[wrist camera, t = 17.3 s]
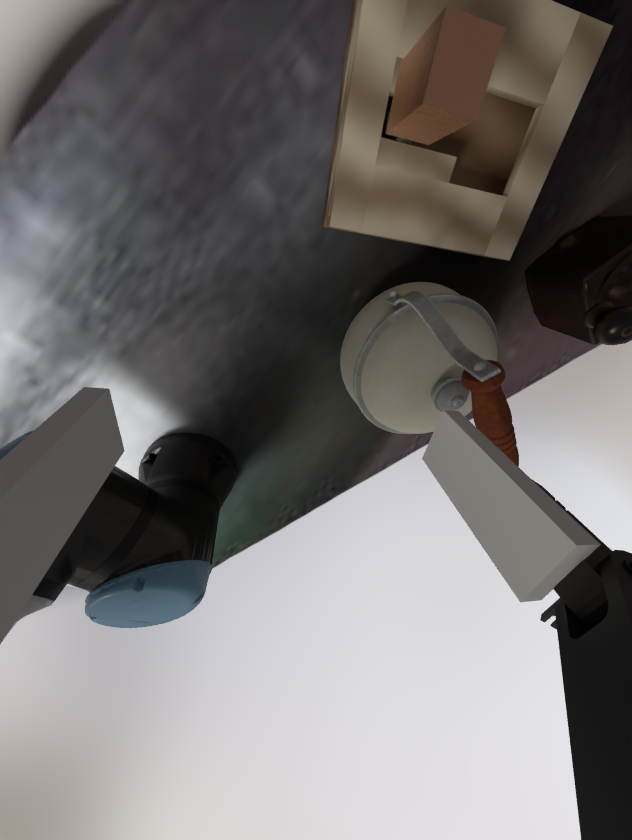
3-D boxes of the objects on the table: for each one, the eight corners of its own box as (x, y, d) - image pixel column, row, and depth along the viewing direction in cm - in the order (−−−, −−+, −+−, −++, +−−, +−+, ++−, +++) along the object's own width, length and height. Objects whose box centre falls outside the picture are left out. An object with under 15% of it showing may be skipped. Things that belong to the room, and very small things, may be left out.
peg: (402, 167, 31) (479, 131, 20) (358, 156, 30) (413, 112, 19) (418, 101, 29) (517, 17, 17) (369, 87, 28) (442, -12, 16)
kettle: (303, 312, 39) (345, 403, 19) (429, 232, 36) (646, 236, 16) (374, 435, 53) (444, 568, 32) (470, 384, 50) (616, 495, 29)
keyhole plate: (483, 257, 39) (509, 260, 35) (322, 226, 34) (329, 226, 30) (563, 54, 29) (613, 26, 25) (355, -24, 25) (374, -74, 21)
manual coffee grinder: (597, 208, 38) (816, 194, 23) (607, 281, 43) (788, 308, 28) (486, 291, 41) (611, 326, 26) (509, 348, 47) (622, 404, 32)
